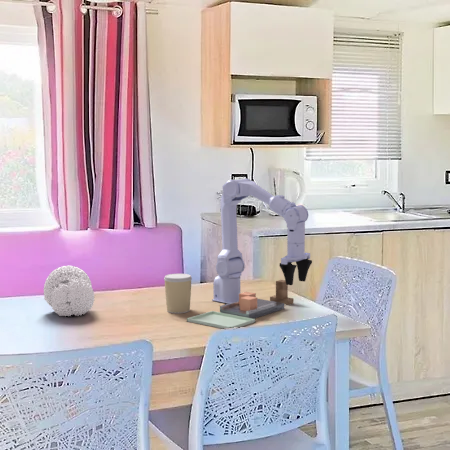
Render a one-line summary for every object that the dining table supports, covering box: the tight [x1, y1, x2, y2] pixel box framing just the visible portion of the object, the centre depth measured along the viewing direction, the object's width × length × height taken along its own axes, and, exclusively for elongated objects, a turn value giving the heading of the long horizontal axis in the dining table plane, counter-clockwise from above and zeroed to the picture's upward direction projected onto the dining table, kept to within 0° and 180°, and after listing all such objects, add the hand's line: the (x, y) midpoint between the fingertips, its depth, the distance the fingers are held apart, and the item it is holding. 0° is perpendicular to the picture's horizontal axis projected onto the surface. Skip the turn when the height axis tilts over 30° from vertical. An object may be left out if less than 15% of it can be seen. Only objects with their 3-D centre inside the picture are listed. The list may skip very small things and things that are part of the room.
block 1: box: [239, 291, 257, 305], centre depth 253 cm, size 4×4×4 cm
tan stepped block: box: [269, 279, 294, 306], centre depth 265 cm, size 8×3×8 cm, turn 51°
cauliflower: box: [42, 265, 95, 317], centre depth 251 cm, size 20×18×16 cm
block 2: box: [240, 296, 258, 311], centre depth 246 cm, size 4×4×4 cm
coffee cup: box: [163, 273, 193, 314], centre depth 254 cm, size 9×9×12 cm
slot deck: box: [219, 298, 285, 320], centre depth 252 cm, size 12×20×3 cm, turn 141°
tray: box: [186, 310, 256, 330], centre depth 239 cm, size 18×13×1 cm
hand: (295, 282), depth 249 cm, fingers open, 7 cm apart
